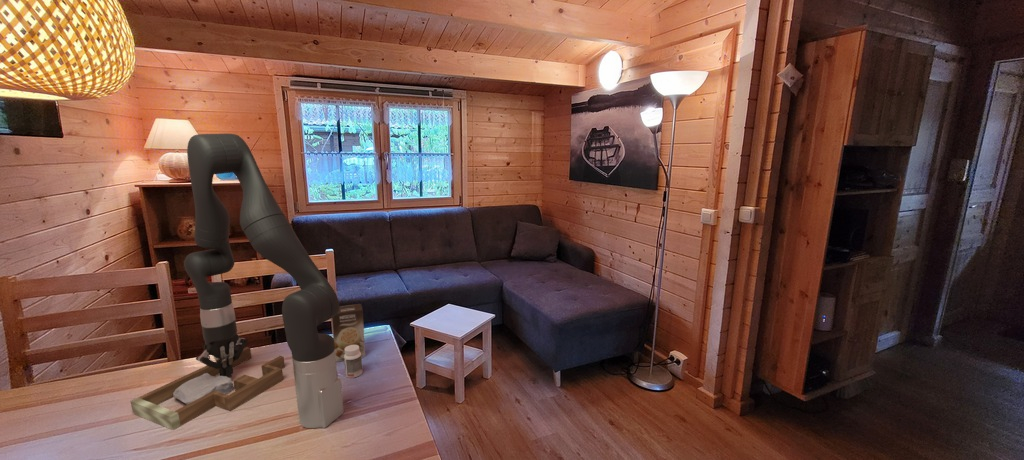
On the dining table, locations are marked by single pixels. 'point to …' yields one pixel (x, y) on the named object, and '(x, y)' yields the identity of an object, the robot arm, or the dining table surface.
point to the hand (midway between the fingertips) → (227, 377)
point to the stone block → (202, 387)
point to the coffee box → (348, 329)
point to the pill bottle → (353, 361)
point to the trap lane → (243, 392)
